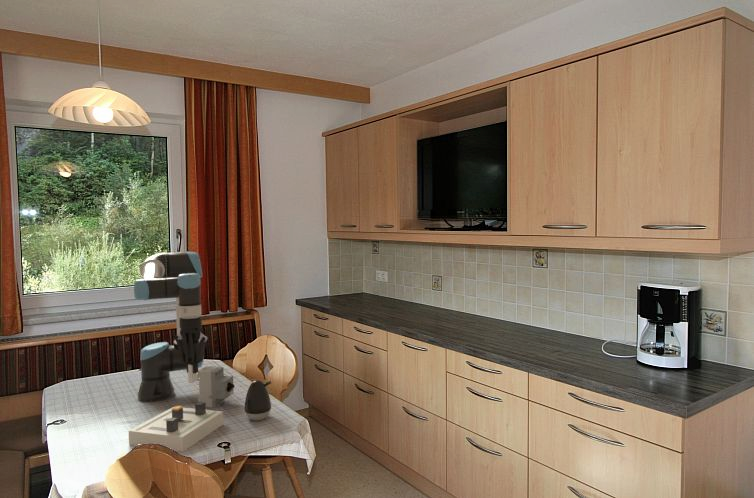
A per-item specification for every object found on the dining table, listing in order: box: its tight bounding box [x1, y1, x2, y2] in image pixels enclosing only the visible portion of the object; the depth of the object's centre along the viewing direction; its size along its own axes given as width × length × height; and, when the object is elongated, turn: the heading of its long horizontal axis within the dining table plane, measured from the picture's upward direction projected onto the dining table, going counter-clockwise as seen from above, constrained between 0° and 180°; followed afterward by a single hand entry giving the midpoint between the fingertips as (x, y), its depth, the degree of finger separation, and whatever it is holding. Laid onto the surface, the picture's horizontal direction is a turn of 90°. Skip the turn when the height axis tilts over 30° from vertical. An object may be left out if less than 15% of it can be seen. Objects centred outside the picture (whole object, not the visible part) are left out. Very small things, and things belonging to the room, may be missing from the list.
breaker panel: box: [128, 402, 224, 453], centre depth 186 cm, size 22×24×9 cm
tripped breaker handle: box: [171, 405, 184, 421], centre depth 186 cm, size 2×3×5 cm
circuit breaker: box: [196, 365, 235, 408], centre depth 217 cm, size 8×14×15 cm, turn 78°
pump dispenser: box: [244, 379, 272, 422], centre depth 200 cm, size 10×10×15 cm
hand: (192, 381), depth 183 cm, fingers closed
